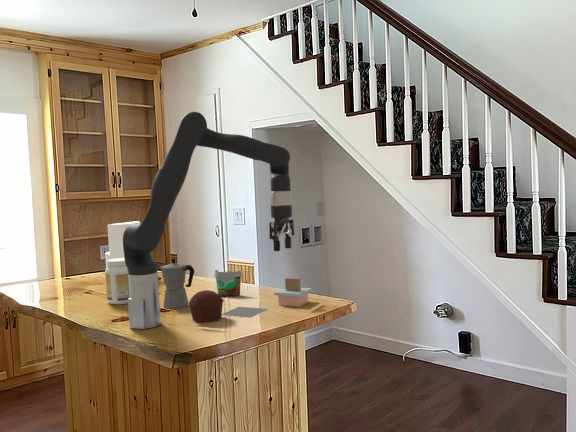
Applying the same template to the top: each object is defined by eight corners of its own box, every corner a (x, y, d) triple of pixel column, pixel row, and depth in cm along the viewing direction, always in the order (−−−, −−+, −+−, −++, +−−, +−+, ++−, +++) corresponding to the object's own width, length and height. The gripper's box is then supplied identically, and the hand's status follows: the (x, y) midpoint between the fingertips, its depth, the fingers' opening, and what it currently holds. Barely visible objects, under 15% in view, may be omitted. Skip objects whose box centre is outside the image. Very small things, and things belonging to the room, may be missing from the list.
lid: (299, 296, 191) (298, 281, 190) (274, 295, 195) (273, 280, 195) (311, 291, 200) (311, 276, 199) (287, 289, 204) (286, 275, 204)
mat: (250, 319, 180) (250, 317, 180) (220, 317, 186) (219, 314, 186) (268, 311, 191) (268, 308, 191) (238, 309, 196) (238, 306, 196)
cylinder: (151, 277, 274) (147, 221, 272) (123, 284, 259) (119, 224, 257) (126, 275, 283) (123, 221, 281) (99, 281, 268) (95, 224, 266)
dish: (299, 308, 192) (298, 296, 192) (278, 307, 196) (278, 294, 196) (308, 303, 200) (307, 291, 199) (288, 302, 203) (288, 290, 203)
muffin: (182, 322, 181) (181, 292, 181) (210, 315, 189) (208, 286, 188) (204, 328, 173) (202, 296, 172) (232, 320, 180) (230, 290, 180)
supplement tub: (145, 298, 223) (142, 256, 222) (128, 305, 212) (125, 261, 211) (118, 298, 227) (115, 257, 226) (101, 304, 215) (97, 261, 214)
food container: (208, 296, 220) (207, 272, 220) (217, 293, 226) (216, 269, 225) (234, 298, 215) (233, 273, 214) (243, 295, 220) (241, 270, 219)
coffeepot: (154, 308, 205) (150, 260, 204) (169, 302, 213) (166, 256, 212) (188, 310, 198) (185, 260, 197) (203, 304, 207) (200, 256, 206)
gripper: (281, 203, 203) (282, 247, 204) (261, 205, 190) (263, 251, 191) (299, 203, 200) (301, 247, 200) (281, 204, 187) (282, 252, 188)
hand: (282, 249), depth 196 cm, fingers open, 8 cm apart
